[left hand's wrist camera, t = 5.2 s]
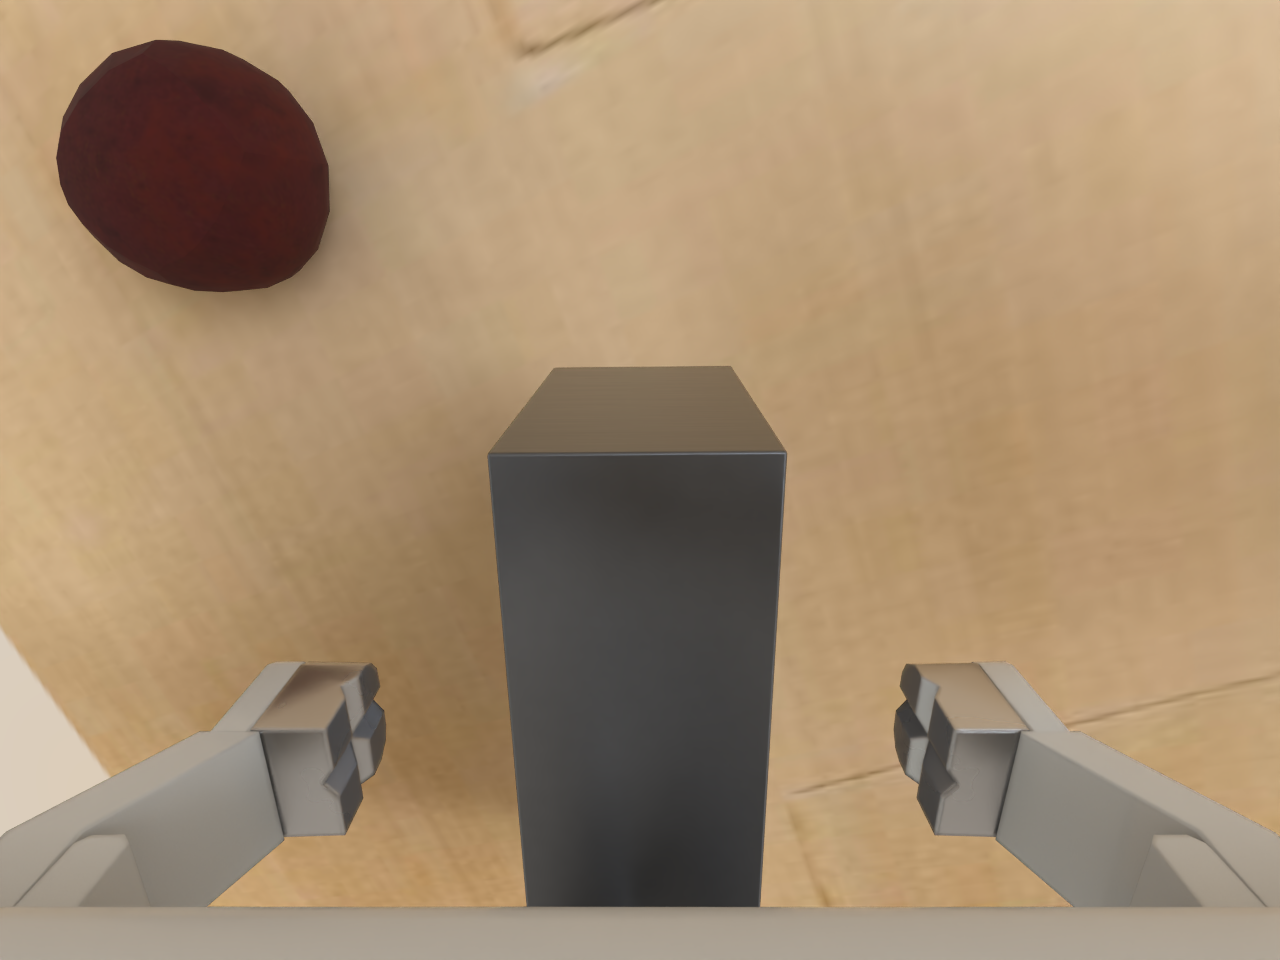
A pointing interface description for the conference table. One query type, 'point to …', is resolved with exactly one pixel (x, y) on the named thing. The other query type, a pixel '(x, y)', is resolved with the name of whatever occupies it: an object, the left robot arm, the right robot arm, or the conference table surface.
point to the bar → (640, 633)
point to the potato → (194, 168)
